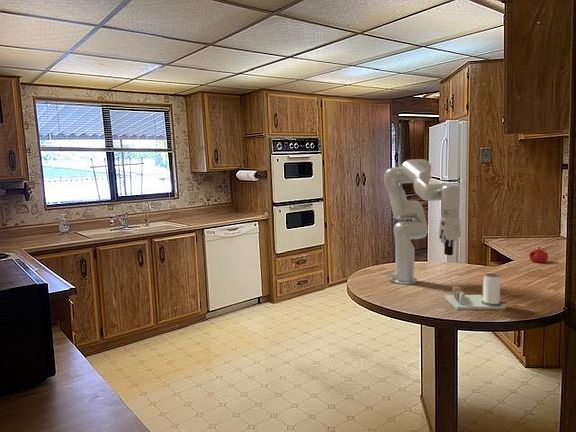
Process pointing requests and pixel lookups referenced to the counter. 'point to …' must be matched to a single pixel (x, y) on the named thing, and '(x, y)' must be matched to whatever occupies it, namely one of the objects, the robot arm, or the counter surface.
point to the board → (472, 302)
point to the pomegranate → (538, 256)
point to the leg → (456, 292)
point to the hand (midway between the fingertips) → (448, 254)
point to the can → (491, 288)
